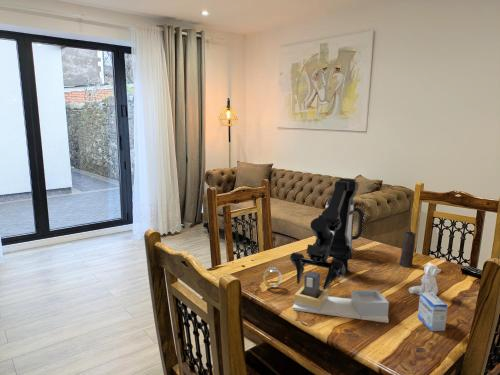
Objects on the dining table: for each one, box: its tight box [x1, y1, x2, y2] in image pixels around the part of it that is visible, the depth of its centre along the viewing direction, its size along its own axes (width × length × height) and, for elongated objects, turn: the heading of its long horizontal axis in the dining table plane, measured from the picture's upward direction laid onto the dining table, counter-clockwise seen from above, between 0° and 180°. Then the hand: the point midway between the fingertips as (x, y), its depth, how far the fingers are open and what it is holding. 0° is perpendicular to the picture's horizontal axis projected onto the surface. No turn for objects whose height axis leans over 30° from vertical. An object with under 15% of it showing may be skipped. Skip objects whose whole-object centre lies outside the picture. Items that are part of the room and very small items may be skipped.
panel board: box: [292, 296, 389, 324], centre depth 123 cm, size 30×11×1 cm, turn 75°
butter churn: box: [399, 201, 416, 268], centre depth 157 cm, size 9×10×28 cm
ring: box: [262, 266, 283, 288], centre depth 137 cm, size 7×3×8 cm, turn 89°
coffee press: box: [325, 195, 364, 253], centre depth 176 cm, size 17×16×30 cm
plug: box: [303, 270, 321, 298], centre depth 124 cm, size 5×4×9 cm
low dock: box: [293, 284, 330, 315], centre depth 125 cm, size 9×9×4 cm
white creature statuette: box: [408, 262, 442, 296], centre depth 131 cm, size 10×9×12 cm
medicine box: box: [417, 293, 448, 332], centre depth 112 cm, size 8×4×9 cm, turn 5°
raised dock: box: [350, 289, 390, 320], centre depth 120 cm, size 9×9×6 cm
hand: (310, 286), depth 123 cm, fingers open, 9 cm apart
